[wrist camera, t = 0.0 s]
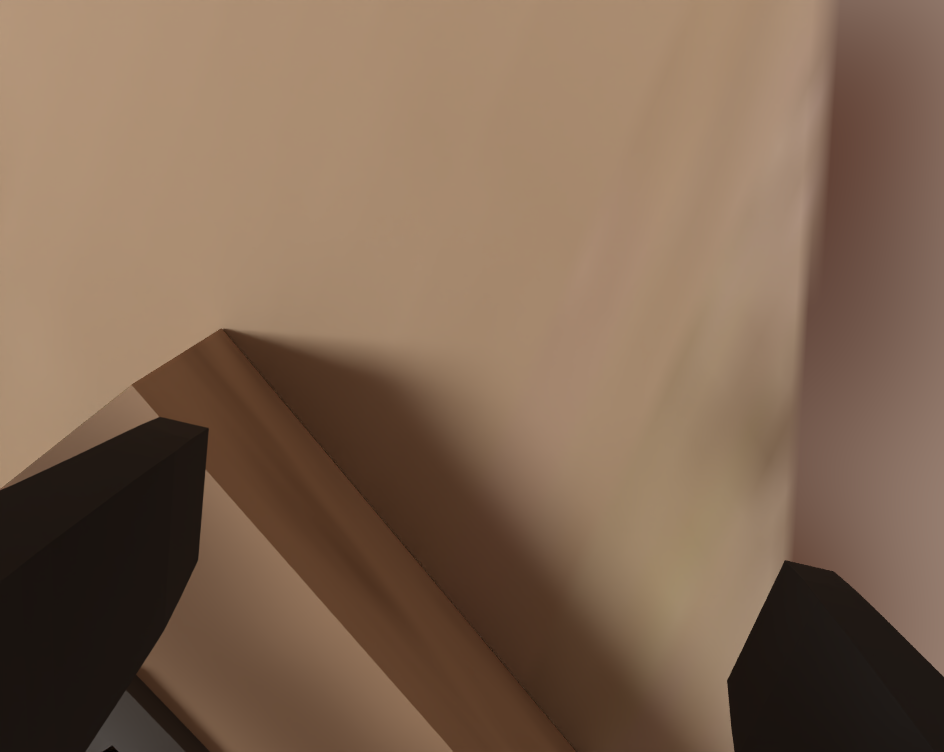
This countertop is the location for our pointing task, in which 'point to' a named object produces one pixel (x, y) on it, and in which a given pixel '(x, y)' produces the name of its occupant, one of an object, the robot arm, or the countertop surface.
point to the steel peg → (111, 750)
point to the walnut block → (296, 599)
